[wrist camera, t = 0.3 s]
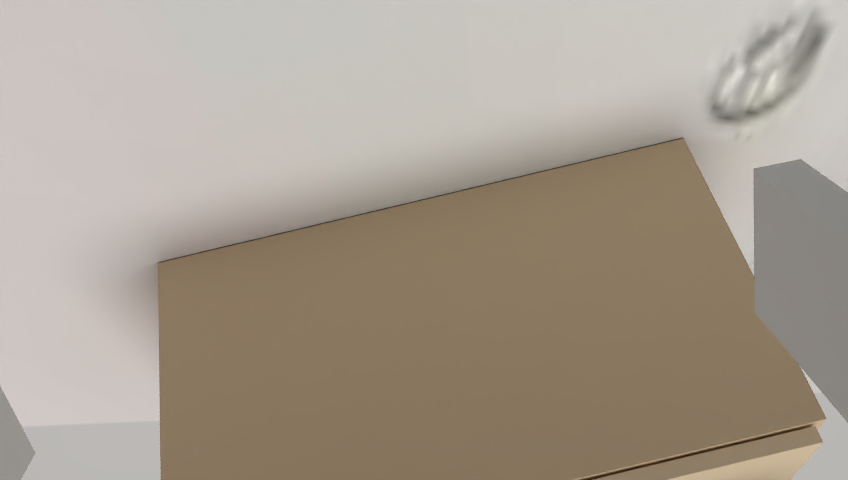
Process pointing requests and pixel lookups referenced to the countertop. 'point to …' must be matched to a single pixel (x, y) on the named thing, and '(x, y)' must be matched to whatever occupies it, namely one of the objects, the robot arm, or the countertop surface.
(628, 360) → the carton
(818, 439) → the lid flap
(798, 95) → the countertop surface
